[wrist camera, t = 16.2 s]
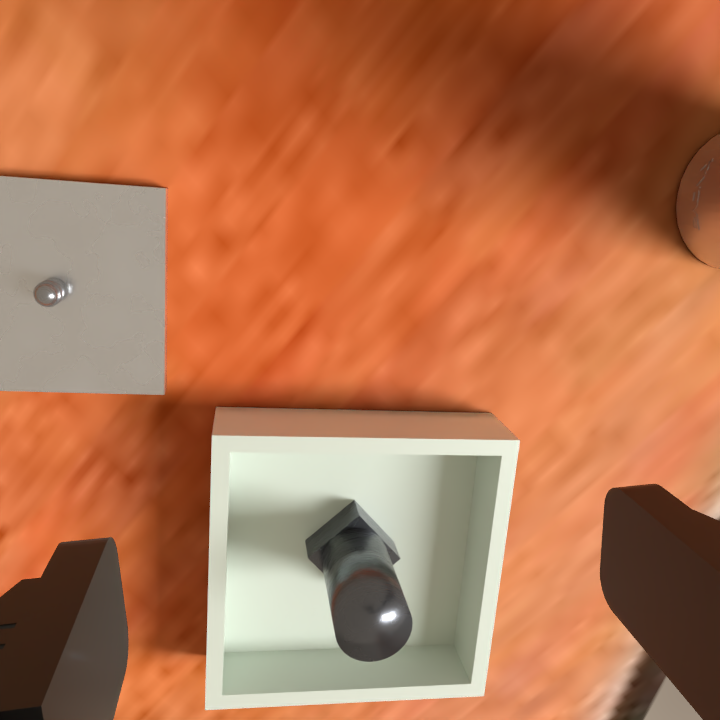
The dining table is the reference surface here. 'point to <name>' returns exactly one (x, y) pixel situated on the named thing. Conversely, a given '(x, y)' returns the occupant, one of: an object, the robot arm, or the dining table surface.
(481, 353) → the dining table surface
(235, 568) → the sage bin
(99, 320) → the stud plate
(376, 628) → the dark grey stamp
